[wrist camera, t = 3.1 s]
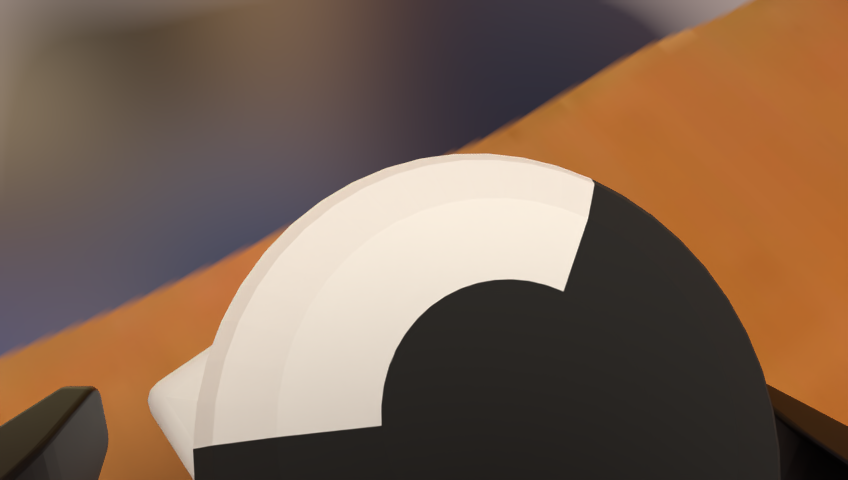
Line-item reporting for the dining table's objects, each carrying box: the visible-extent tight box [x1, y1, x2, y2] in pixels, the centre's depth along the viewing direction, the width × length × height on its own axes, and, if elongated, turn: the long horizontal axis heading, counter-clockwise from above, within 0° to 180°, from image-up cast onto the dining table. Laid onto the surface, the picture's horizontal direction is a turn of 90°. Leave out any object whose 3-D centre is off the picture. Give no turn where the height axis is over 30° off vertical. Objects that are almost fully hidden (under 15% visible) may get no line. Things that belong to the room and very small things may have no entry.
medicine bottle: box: [148, 154, 781, 480], centre depth 11 cm, size 7×7×12 cm
